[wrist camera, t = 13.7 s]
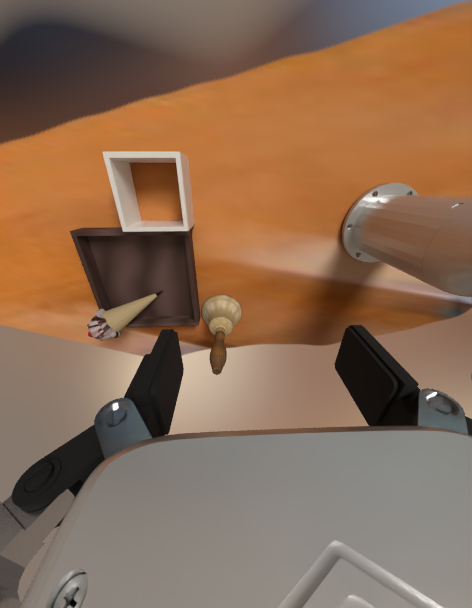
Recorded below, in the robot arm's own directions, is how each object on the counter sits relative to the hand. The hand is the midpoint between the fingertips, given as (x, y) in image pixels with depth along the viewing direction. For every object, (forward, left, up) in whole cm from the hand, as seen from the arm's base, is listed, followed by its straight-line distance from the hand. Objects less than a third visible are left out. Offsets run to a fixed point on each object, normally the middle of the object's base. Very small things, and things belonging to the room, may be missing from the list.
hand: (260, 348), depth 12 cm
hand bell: (+4, +15, -29) cm, 32 cm away
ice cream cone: (+14, +9, -28) cm, 32 cm away
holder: (+12, -7, -28) cm, 32 cm away
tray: (+17, +7, -28) cm, 34 cm away
